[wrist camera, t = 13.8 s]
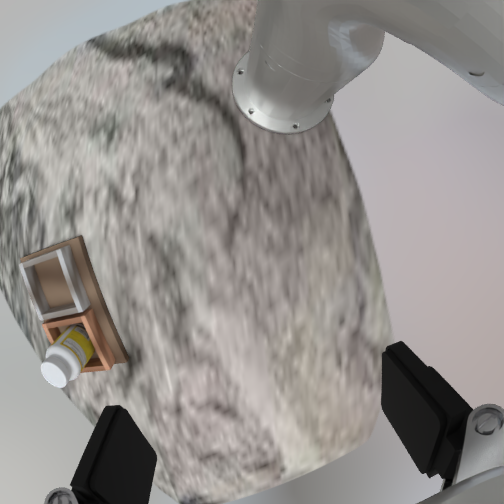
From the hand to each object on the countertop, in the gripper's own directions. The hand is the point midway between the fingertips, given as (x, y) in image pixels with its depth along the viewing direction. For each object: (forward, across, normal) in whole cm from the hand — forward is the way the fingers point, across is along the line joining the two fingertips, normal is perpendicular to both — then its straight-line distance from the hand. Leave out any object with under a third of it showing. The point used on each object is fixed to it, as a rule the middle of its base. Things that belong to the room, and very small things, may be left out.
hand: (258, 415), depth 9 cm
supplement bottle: (+27, +26, +8) cm, 38 cm away
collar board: (+28, +26, +3) cm, 39 cm away
